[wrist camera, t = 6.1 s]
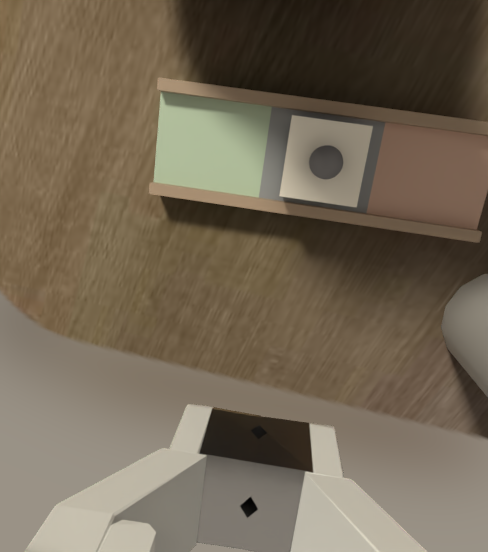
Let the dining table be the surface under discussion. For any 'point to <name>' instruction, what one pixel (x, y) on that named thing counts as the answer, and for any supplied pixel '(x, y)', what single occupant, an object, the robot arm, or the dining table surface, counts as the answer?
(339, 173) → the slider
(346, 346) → the dining table surface
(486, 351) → the cup
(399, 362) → the dining table surface
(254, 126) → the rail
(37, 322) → the dining table surface
